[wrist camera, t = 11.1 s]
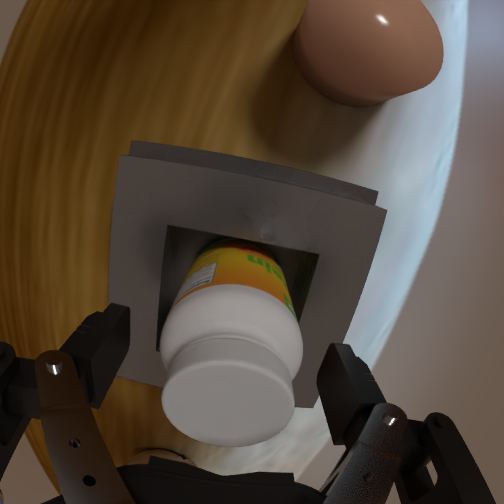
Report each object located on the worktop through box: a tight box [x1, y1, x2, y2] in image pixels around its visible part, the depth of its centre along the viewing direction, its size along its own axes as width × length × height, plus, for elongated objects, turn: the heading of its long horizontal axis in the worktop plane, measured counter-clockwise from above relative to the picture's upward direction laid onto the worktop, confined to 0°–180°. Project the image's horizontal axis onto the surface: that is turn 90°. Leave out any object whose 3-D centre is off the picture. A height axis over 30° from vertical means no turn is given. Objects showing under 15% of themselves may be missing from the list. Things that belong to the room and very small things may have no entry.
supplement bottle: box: [160, 238, 303, 447], centre depth 12 cm, size 5×5×10 cm
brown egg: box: [293, 0, 443, 107], centre depth 12 cm, size 7×7×5 cm
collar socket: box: [109, 141, 387, 408], centre depth 16 cm, size 14×14×4 cm
